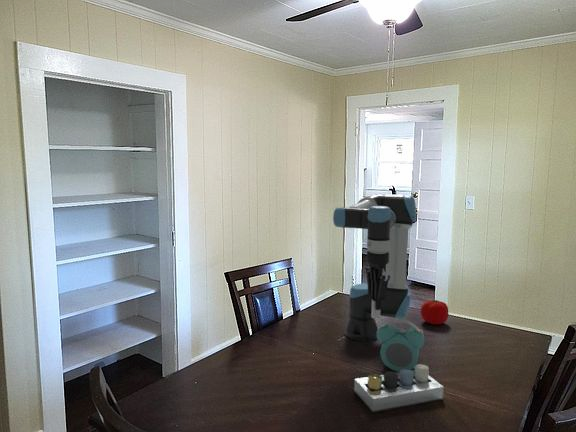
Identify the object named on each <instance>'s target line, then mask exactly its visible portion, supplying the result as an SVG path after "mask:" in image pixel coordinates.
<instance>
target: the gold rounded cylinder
mask: <svg viewBox="0 0 576 432" xmlns="http://www.w3.org/2000/svg"><path fill="white" fill-rule="evenodd" d="M380 375H381V374H377V373H371V374H369V375H368V376H367V377H368V389H369V390H370V391H371V392H373V391H379V390H381V384H382V377H381V376H380Z"/></svg>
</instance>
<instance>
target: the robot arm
mask: <svg viewBox="0 0 576 432" xmlns="http://www.w3.org/2000/svg"><path fill="white" fill-rule="evenodd" d="M332 218H333V219H332V221H333V225H334V226H335V227H338V228H342V229H344V228H345V229H346V228H347V229H360V230H367V237H366V238H367V241H366V245H367V246H366V249H367V251H366V262H367V263H368V264H369V265H368V266H367V267H365V273H366V283H363V282H362V283H359V284H354V285H352V286H351V287H350V290H349V306H348V307H349V309H348V319H347V322H346V325H345V327H344V335H345V336H346V337H347V338H348V339H351V340H354V341H359V342H370V341H374V340H376V339H377V330H378V325H377V322H376V319H381V317H388V318H393V319H394V318H395V319H405V318H407V317H408V314H409V310H410V306H411V303H412V302H411V301H412V292H410V291H409V286H407V284H406V276H407V275H406V273H407V257H408V245H409V243H408V242H409V241H408V240H409V230H410V229H411V228H412V227H413V223H416V221H417V206H416V200H415V197H414V196H413V195H408V194H385V193H384V194H381V193H378V194H372V195H369V196H365V197H363V198H361V199H360V200H358V202H357V203H355V204H354V205H352V206H349V207H344V206H342V207H336V208H335V209H334V211H333V217H332ZM377 340H378V339H377Z"/></svg>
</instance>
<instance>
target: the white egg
mask: <svg viewBox="0 0 576 432" xmlns="http://www.w3.org/2000/svg"><path fill="white" fill-rule="evenodd" d="M414 370H415V380H416V381H417V382H418V383H419V384H421V383H427V382H428V376H430V375H429V374H430V371H429V370H430V368H429V366H428V365H426V364H421V363H419V364H418V363H417V364H416V365H415V368H414Z"/></svg>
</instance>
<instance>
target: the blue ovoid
mask: <svg viewBox="0 0 576 432" xmlns="http://www.w3.org/2000/svg"><path fill="white" fill-rule="evenodd" d="M411 370H412V369H411ZM411 370H408V369H402V370H400V383H401V384H402V385H403V386H409V385H413V372H412V371H411Z"/></svg>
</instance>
